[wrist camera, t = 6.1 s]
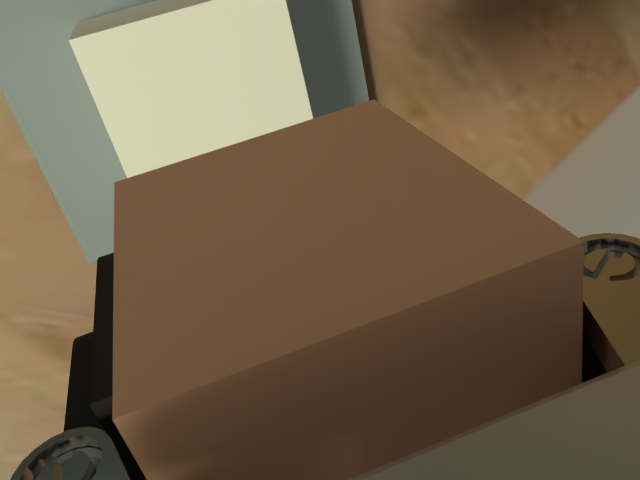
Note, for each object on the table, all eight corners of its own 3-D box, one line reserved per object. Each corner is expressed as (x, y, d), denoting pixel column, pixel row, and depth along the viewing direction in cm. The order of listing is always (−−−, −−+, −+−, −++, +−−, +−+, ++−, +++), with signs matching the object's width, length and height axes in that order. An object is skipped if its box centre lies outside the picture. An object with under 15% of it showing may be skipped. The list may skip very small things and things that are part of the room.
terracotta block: (373, 99, 11) (583, 240, 6) (410, 304, 14) (579, 523, 9) (114, 181, 11) (111, 420, 6) (202, 382, 13) (256, 671, 8)
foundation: (324, -123, 23) (367, -132, 19) (376, 162, 29) (416, 199, 25) (-53, -27, 21) (-94, -15, 17) (88, 257, 27) (83, 313, 23)
